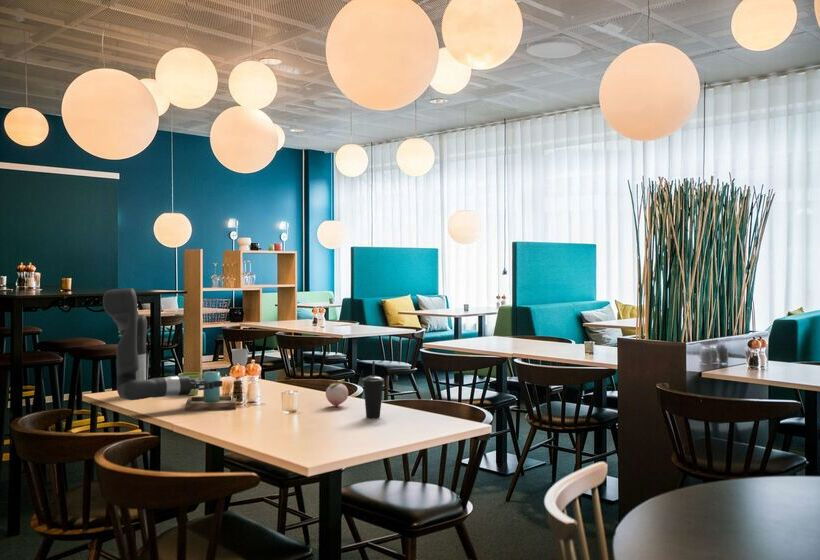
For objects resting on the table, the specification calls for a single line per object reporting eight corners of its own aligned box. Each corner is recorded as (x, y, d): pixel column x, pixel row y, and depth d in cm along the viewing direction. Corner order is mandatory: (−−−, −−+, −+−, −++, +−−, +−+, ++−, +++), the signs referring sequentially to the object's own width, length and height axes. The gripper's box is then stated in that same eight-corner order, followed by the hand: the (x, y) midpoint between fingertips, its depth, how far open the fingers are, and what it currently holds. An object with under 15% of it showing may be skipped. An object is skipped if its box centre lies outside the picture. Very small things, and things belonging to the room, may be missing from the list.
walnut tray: (185, 410, 275) (185, 403, 275) (188, 403, 291) (188, 396, 291) (235, 409, 279) (235, 402, 279) (236, 402, 294) (236, 395, 294)
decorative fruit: (343, 409, 281) (343, 382, 281) (323, 408, 283) (323, 381, 283) (351, 405, 291) (351, 379, 290) (331, 404, 292) (331, 378, 292)
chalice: (250, 390, 323) (250, 348, 323) (245, 393, 316) (245, 350, 316) (233, 390, 324) (234, 348, 324) (228, 392, 317) (228, 350, 317)
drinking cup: (360, 418, 263) (360, 362, 263) (364, 414, 271) (365, 359, 271) (381, 419, 262) (382, 362, 262) (385, 415, 270) (386, 360, 270)
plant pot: (194, 397, 305) (194, 375, 305) (173, 395, 308) (173, 374, 308) (206, 393, 314) (206, 372, 314) (186, 392, 317) (186, 371, 317)
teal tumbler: (203, 402, 281) (203, 373, 281) (203, 400, 287) (203, 371, 287) (219, 402, 282) (219, 373, 282) (219, 399, 288) (220, 371, 288)
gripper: (183, 378, 270) (226, 374, 281) (168, 373, 281) (210, 370, 292) (183, 398, 270) (226, 394, 281) (167, 393, 281) (209, 389, 292)
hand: (217, 382), depth 286 cm, fingers open, 6 cm apart
